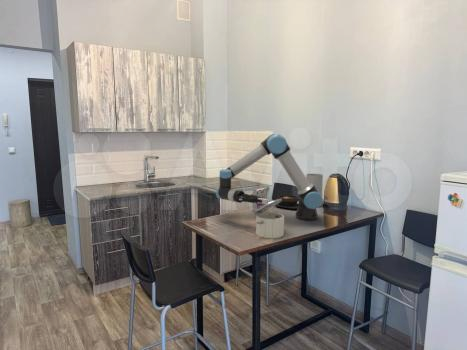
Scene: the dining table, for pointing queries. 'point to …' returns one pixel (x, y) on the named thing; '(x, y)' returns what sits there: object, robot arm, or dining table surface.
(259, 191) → the candy bar box
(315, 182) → the cylinder vase
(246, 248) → the dining table surface
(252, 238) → the dining table surface
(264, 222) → the stockpot
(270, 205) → the lid
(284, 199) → the casserole
